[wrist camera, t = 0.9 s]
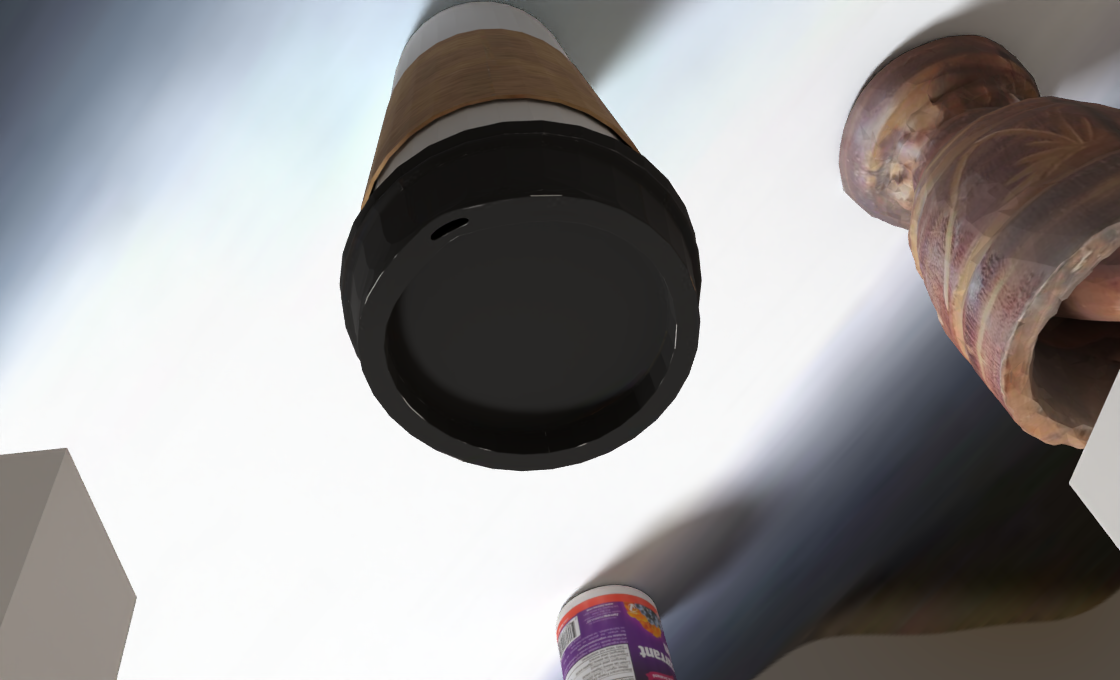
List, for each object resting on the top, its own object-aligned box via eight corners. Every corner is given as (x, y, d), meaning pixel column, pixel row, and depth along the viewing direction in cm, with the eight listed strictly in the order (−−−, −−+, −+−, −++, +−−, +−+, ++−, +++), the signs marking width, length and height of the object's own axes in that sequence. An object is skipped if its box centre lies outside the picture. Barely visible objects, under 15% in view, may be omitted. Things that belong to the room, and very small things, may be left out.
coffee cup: (534, -93, 29) (632, 96, 17) (644, 130, 34) (780, 399, 22) (303, 42, 31) (246, 304, 19) (441, 238, 36) (465, 546, 24)
